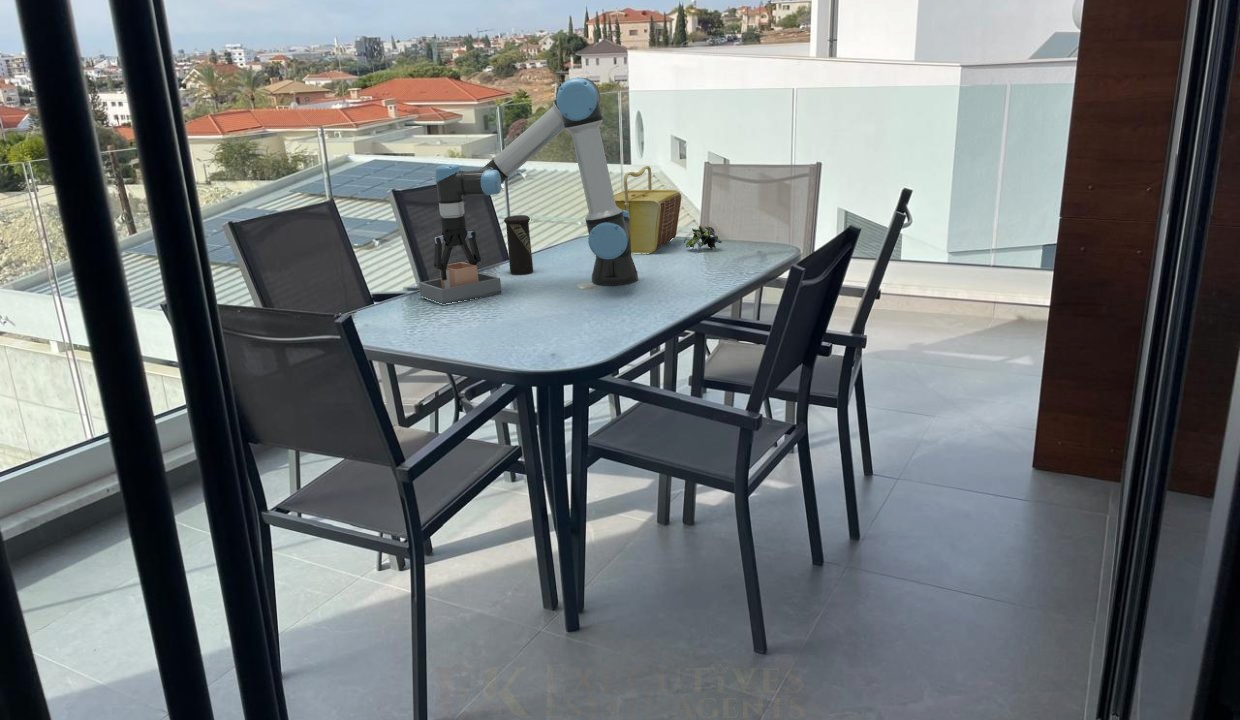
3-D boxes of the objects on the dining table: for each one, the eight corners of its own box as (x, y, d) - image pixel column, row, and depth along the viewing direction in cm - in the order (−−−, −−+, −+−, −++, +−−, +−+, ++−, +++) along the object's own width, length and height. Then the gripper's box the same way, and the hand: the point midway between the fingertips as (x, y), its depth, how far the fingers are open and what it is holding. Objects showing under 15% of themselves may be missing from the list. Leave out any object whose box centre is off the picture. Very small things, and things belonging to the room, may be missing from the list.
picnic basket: (661, 256, 335) (658, 173, 326) (596, 254, 344) (591, 174, 335) (684, 241, 361) (681, 164, 352) (623, 240, 370) (619, 165, 361)
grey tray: (501, 293, 290) (500, 278, 289) (443, 305, 279) (441, 289, 277) (477, 286, 302) (476, 271, 301) (420, 298, 291) (418, 282, 289)
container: (522, 276, 314) (517, 218, 308) (503, 273, 320) (498, 216, 314) (539, 271, 321) (534, 214, 315) (520, 268, 326) (515, 213, 320)
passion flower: (710, 263, 344) (728, 238, 338) (695, 263, 335) (713, 237, 330) (690, 244, 348) (708, 219, 343) (675, 244, 339) (693, 218, 334)
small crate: (479, 290, 288) (476, 265, 286) (457, 295, 284) (454, 270, 282) (464, 286, 296) (461, 262, 294) (442, 290, 292) (439, 266, 289)
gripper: (476, 210, 292) (483, 279, 299) (416, 219, 280) (425, 291, 287) (487, 212, 286) (494, 283, 293) (427, 221, 274) (436, 295, 281)
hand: (460, 287), depth 290 cm, fingers closed on small crate, 8 cm apart
